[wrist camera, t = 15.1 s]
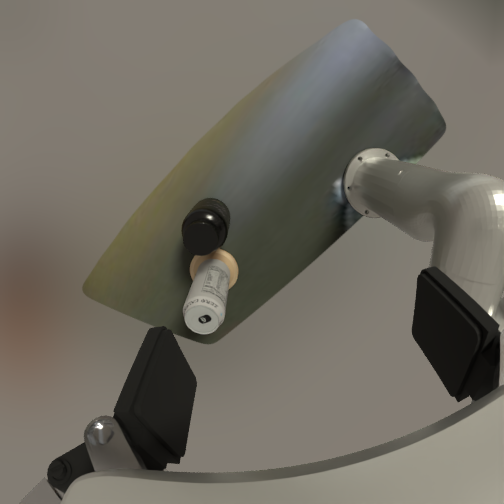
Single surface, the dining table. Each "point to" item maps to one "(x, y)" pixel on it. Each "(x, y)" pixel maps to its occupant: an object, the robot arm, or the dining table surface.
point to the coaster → (219, 255)
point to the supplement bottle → (206, 227)
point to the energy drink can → (207, 297)
